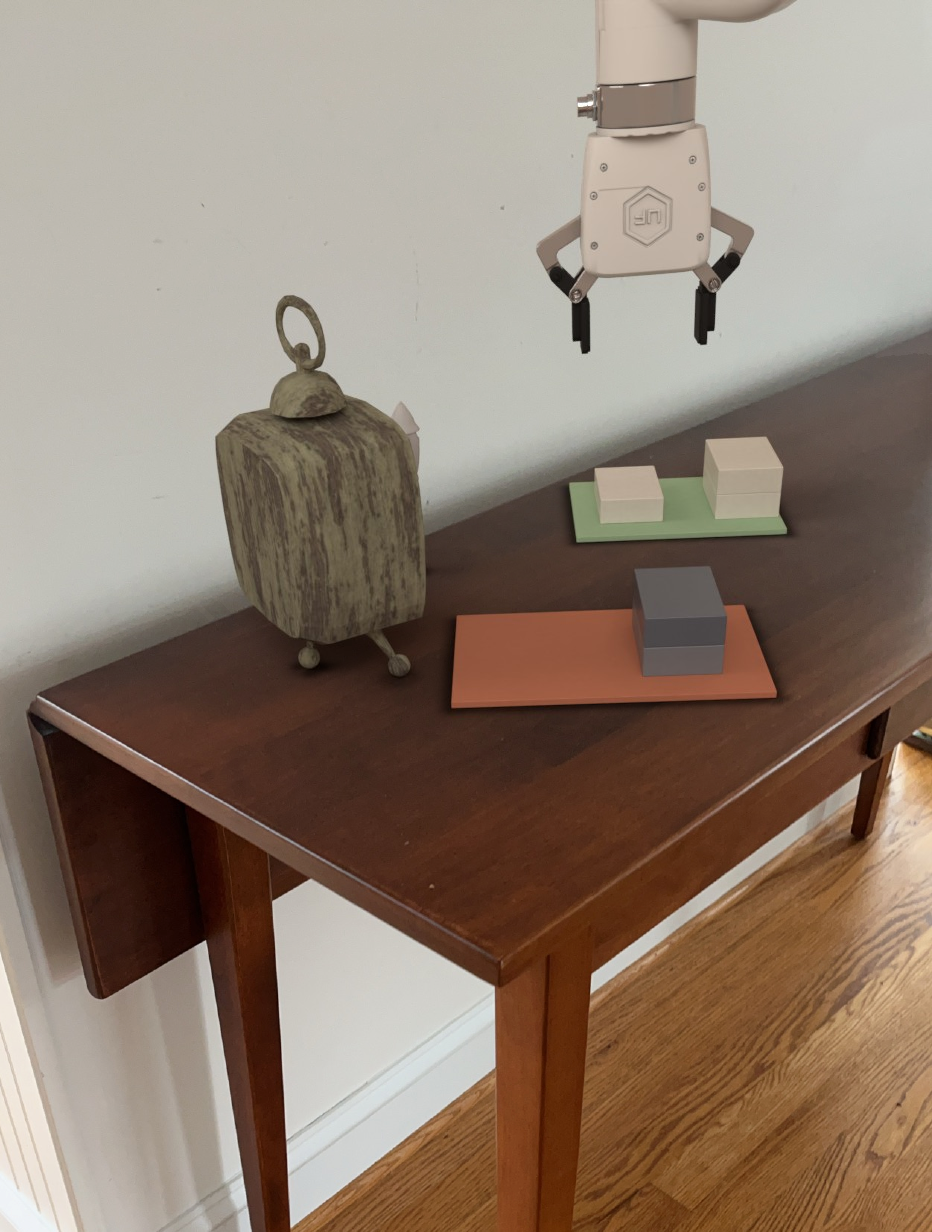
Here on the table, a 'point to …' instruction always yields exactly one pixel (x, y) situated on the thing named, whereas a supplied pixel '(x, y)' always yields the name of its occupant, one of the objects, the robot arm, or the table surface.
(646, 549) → the table surface
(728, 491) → the beige lidded box
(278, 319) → the tabletop clock
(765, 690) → the terracotta rectangular mat
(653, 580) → the grey blocks
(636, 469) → the cream flat block
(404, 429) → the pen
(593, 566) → the table surface
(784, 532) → the green mat
